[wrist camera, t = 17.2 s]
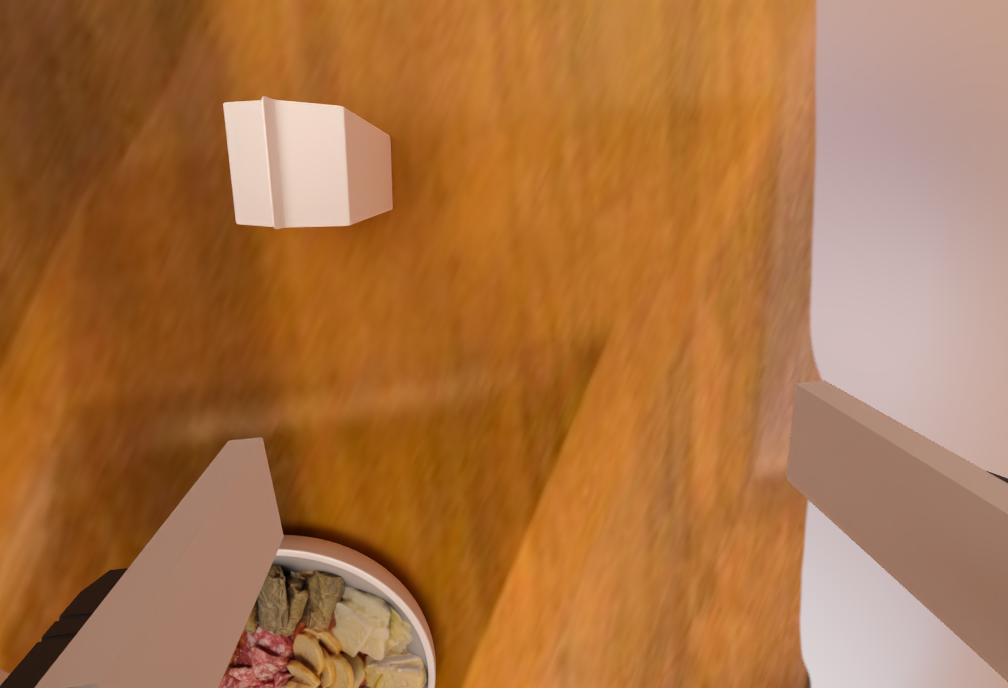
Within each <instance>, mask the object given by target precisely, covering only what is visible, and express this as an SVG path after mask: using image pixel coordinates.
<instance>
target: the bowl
mask: <svg viewBox="0 0 1008 688" xmlns="http://www.w3.org/2000/svg"><path fill="white" fill-rule="evenodd" d="M435 678H436V659H435V650H434V644H433V640H432V636H431V632H430V629H429V626H428V624H427V621H426V619H425V617H424V615H423V613H422V611H421V609H420V607H419V606H418V604H417V602H416V601H415V599H414V598H413V596H412V595H411V594H410V592H409V591H408V590H407V589H406V587H405V586H404V585H403V584H402V583H401V582H400V581H399V580H398V579H397V578H396V577H395V576H394V575H393V574H391V573H390V572H389V571H388V570H387V569H385V568H384V567H383V566H381V565H380V564H378V563H377V562H375V561H374V560H372V559H371V558H369V557H367V556H365V555H363V554H362V553H359V552H357V551H355V550H353V549H351V548H348V547H346V546H343V545H340V544H337V543H334V542H330V541H327V540H322V539H318V538H312V537H306V536H297V535H284V537H283V540H282V542H281V544H280V547H279V549H278V551H277V554H276V556H275V558H274V561H273V563H272V565H271V567H270V570H269V572H268V574H267V577H266V579H265V581H264V584H263V586H262V588H261V591H260V593H259V595H258V597H257V600H256V602H255V604H254V607H253V609H252V611H251V614H250V616H249V618H248V621H247V623H246V625H245V627H244V630H243V632H242V634H241V637H240V639H239V641H238V644H237V646H236V648H235V651H234V653H233V655H232V657H231V660H230V662H229V664H228V667H227V669H226V671H225V674H224V676H223V678H222V681H221V683H220V685H219V688H435Z"/></svg>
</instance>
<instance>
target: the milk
mask: <svg viewBox="0 0 1008 688" xmlns="http://www.w3.org/2000/svg"><path fill="white" fill-rule="evenodd" d="M223 108H224V117H225V127H226V136H227V145H228V154H229V163H230V173H231V182H232V191H233V200H234V209H235V219H236V223H237V224H240V225H254V226H268V227H274V229H281V228H288V227H327V226H350V225H352V224H355V223H358V222H360V221H363V220H366V219H368V218H371V217H374V216H376V215H379V214H382V213H384V212H387V211H390V210H392V209H393V196H392V167H391V138H390V135H388V134H386V133H385V132H383V131H382V130H380V129H378V128H377V127H375V126H374V125H372V124H370V123H369V122H367V121H365V120H364V119H362V118H361V117H359V116H357V115H356V114H354V113H353V112H351V111H349V110H348V109H346V108H345V107H343V106H338V105H327V104H316V103H306V102H295V101H284V100H274V99H271V98H269V97H266V96H263V97H262V99H261V100H255V101H239V102H225V103H224V104H223Z"/></svg>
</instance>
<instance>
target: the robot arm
mask: <svg viewBox="0 0 1008 688" xmlns="http://www.w3.org/2000/svg"><path fill="white" fill-rule="evenodd" d="M786 480H787V481H789V482H790V483H791V484H792V485H793V486H794V487H795V488H796V489H797V490H798V491H799V492H801V493H802V494H803V495H804V496H805V497H806V498H807V499H808V500H809V501H810V502H812V503H813V504H814V505H815V506H816V507H817V508H818V509H819V510H820V511H821V512H823V513H824V514H825V515H826V516H827V517H828V518H829V519H830V520H831V521H832V522H834V523H835V524H836V525H837V526H838V527H839V528H840V529H841V530H843V532H844V533H846V534H847V535H848V536H849V537H850V538H851V539H852V540H853V541H854V542H855V543H856V544H857V545H859V546H860V547H861V548H862V549H863V550H864V551H865V552H866V553H867V554H868V555H870V556H871V557H872V558H873V559H874V560H875V561H876V562H877V563H878V564H879V565H881V566H882V567H883V568H884V569H885V570H886V571H887V572H888V573H889V574H890V575H891V576H893V577H894V578H895V579H896V580H897V581H898V582H899V583H900V584H902V585H903V586H904V587H905V588H906V589H907V590H908V591H909V592H910V593H911V594H912V595H913V596H914V597H915V598H917V599H918V600H919V601H920V602H921V603H922V604H923V605H924V606H925V607H926V608H928V609H929V610H930V611H931V612H932V613H933V614H934V615H935V616H936V617H937V618H938V619H940V620H941V621H942V622H943V623H944V624H945V625H946V626H947V627H949V628H950V629H951V630H952V631H953V632H954V633H955V634H956V635H957V636H958V637H959V638H960V639H961V640H962V641H964V642H965V643H966V644H967V645H968V646H969V647H970V648H972V650H973V651H975V652H976V653H977V654H978V655H979V656H980V657H981V658H982V659H984V661H986V662H987V663H988V664H989V665H990V666H991V667H992V668H993V669H994V670H995V671H996V672H998V673H999V674H1000V675H1001V676H1002V677H1003V678H1004V679H1005V680H1006V681H1007V682H1008V479H1007V478H1004V477H1002V476H999V475H996V474H993V473H991V472H988V471H985V470H983V469H981V468H979V467H978V466H976V465H974V464H972V463H970V462H969V461H967V460H965V459H963V458H962V457H960V456H958V455H956V454H954V453H953V452H951V451H949V450H947V449H945V448H944V447H942V446H940V445H938V444H937V443H935V442H933V441H931V440H930V439H928V438H926V437H924V436H922V435H921V434H919V433H917V432H915V431H914V430H912V429H910V428H908V427H906V426H905V425H903V424H901V423H899V422H897V421H896V420H894V419H892V418H890V417H889V416H887V415H885V414H883V413H882V412H879V411H878V410H876V409H874V408H873V407H871V406H869V405H867V404H866V403H864V402H862V401H860V400H858V399H857V398H855V397H853V396H851V395H849V394H848V393H846V392H844V391H842V390H841V389H838V388H837V387H835V386H833V385H832V384H830V383H828V382H826V381H815V382H806V383H796V387H795V397H794V407H793V417H792V426H791V436H790V446H789V456H788V465H787V475H786ZM283 537H284V535H283V531H282V526H281V521H280V517H279V512H278V507H277V503H276V498H275V493H274V489H273V484H272V480H271V475H270V470H269V466H268V461H267V456H266V452H265V447H264V442H263V438H262V437H260V438H250V439H240V440H230V441H228V442H227V443H226V445H225V446H224V447H223V449H222V450H221V451H220V452H219V454H218V455H217V456H216V457H215V459H214V460H213V461H212V463H211V464H210V465H209V466H208V468H207V469H206V470H205V471H204V473H203V474H202V475H201V477H200V478H199V479H198V480H197V482H196V483H195V484H194V485H193V487H192V488H191V489H190V491H189V492H188V493H187V494H186V496H185V497H184V498H183V499H182V501H181V502H180V503H179V505H178V506H177V507H176V508H175V510H174V511H173V512H172V513H171V515H170V516H169V517H168V519H167V520H166V521H165V522H164V524H163V525H162V526H161V527H160V529H159V530H158V531H157V533H156V534H155V535H154V536H153V538H152V539H151V540H150V541H149V543H148V544H147V545H146V547H145V548H144V549H143V550H142V552H141V553H140V554H139V555H138V557H137V558H136V559H135V560H134V562H133V563H132V564H131V566H130V567H129V568H125V569H117V570H110V571H108V572H107V573H106V574H104V575H103V576H102V577H100V578H99V579H98V580H96V581H95V582H94V583H92V584H91V585H89V586H88V587H87V588H85V589H84V590H83V591H81V592H80V593H79V594H78V596H77V597H76V598H75V599H74V600H73V601H72V603H71V604H70V605H69V606H68V607H67V608H66V610H65V611H64V612H63V613H62V614H61V615H60V619H59V621H56V622H55V623H54V624H53V625H52V626H51V627H50V628H49V630H48V631H47V632H46V633H45V634H44V635H43V637H42V641H41V642H38V643H37V644H36V645H35V646H34V647H33V648H32V649H31V651H30V652H29V653H28V654H27V655H26V656H25V658H24V659H23V660H22V661H21V662H20V663H19V665H18V666H17V667H16V668H15V669H14V670H13V672H12V673H11V674H10V675H9V676H8V678H7V679H6V680H5V681H4V682H3V684H2V685H1V686H0V688H219V685H220V683H221V681H222V678H223V676H224V674H225V671H226V669H227V667H228V664H229V662H230V660H231V657H232V655H233V653H234V651H235V648H236V646H237V644H238V641H239V639H240V637H241V634H242V632H243V630H244V627H245V625H246V623H247V621H248V618H249V616H250V614H251V611H252V609H253V607H254V604H255V602H256V600H257V597H258V595H259V593H260V591H261V588H262V586H263V584H264V581H265V579H266V577H267V574H268V572H269V570H270V567H271V565H272V563H273V561H274V558H275V556H276V554H277V551H278V549H279V547H280V544H281V542H282V540H283Z"/></svg>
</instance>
